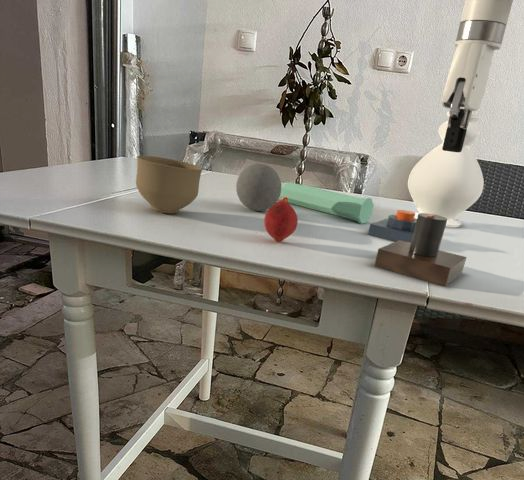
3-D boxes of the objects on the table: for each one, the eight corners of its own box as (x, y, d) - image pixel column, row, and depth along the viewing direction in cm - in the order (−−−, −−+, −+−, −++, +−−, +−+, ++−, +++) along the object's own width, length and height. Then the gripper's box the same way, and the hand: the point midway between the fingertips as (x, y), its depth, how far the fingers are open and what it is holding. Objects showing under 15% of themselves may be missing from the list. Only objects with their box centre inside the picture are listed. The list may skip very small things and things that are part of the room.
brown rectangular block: (461, 274, 87) (466, 257, 85) (445, 286, 79) (450, 268, 78) (395, 256, 92) (399, 240, 91) (374, 266, 84) (378, 248, 83)
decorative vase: (393, 219, 124) (419, 107, 113) (406, 209, 139) (430, 109, 128) (468, 234, 118) (503, 118, 107) (473, 222, 133) (505, 119, 122)
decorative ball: (244, 203, 120) (248, 158, 115) (284, 211, 117) (290, 165, 113) (227, 209, 111) (231, 161, 107) (269, 218, 108) (275, 169, 104)
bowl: (208, 219, 100) (212, 167, 96) (144, 218, 95) (145, 162, 90) (188, 205, 110) (191, 157, 106) (129, 203, 105) (129, 152, 100)
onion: (280, 248, 88) (286, 201, 84) (255, 239, 91) (260, 194, 87) (300, 244, 92) (307, 199, 88) (275, 236, 95) (281, 192, 91)
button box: (432, 240, 108) (437, 221, 106) (418, 247, 101) (423, 227, 99) (383, 228, 113) (388, 210, 111) (367, 234, 106) (371, 215, 104)
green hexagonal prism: (280, 175, 126) (366, 193, 112) (292, 183, 131) (376, 202, 116) (271, 198, 127) (356, 219, 112) (284, 205, 131) (366, 227, 117)
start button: (415, 221, 106) (417, 212, 105) (409, 223, 103) (411, 214, 102) (399, 217, 107) (401, 209, 107) (393, 219, 105) (395, 210, 104)
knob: (414, 247, 87) (423, 210, 84) (440, 253, 85) (451, 216, 82) (405, 251, 83) (415, 213, 81) (432, 258, 81) (443, 219, 79)
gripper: (468, 43, 94) (442, 148, 102) (445, 29, 83) (419, 148, 91) (510, 45, 91) (480, 154, 99) (493, 30, 79) (461, 154, 87)
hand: (451, 151), depth 95 cm, fingers closed
